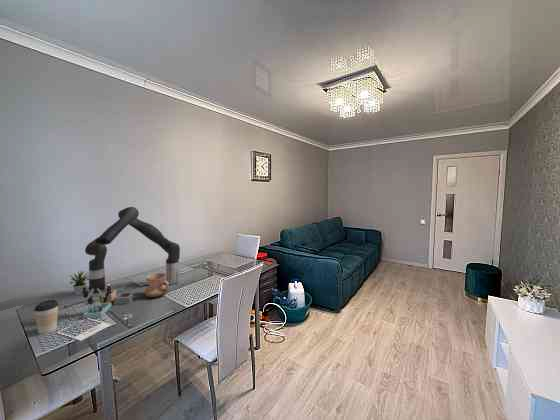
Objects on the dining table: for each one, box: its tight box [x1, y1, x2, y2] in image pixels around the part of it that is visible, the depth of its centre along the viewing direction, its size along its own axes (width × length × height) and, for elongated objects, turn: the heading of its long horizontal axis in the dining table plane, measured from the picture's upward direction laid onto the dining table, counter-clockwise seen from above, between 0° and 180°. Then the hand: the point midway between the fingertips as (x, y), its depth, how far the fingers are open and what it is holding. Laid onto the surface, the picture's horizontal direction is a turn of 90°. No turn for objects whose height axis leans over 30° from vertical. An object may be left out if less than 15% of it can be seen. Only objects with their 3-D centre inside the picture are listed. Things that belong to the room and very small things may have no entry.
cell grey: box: [105, 283, 113, 293], centre depth 152 cm, size 4×4×11 cm
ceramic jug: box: [144, 272, 170, 298], centre depth 163 cm, size 18×14×14 cm
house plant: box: [66, 270, 89, 295], centre depth 162 cm, size 14×14×16 cm
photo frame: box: [56, 318, 111, 342], centre depth 121 cm, size 15×1×18 cm
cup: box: [102, 289, 117, 303], centre depth 152 cm, size 7×7×6 cm
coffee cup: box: [33, 299, 60, 335], centre depth 119 cm, size 9×9×15 cm
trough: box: [82, 302, 112, 320], centre depth 138 cm, size 9×13×3 cm
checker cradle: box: [113, 291, 136, 306], centre depth 154 cm, size 9×13×5 cm
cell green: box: [92, 293, 102, 313], centre depth 138 cm, size 4×4×11 cm
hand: (97, 303), depth 138 cm, fingers open, 7 cm apart
